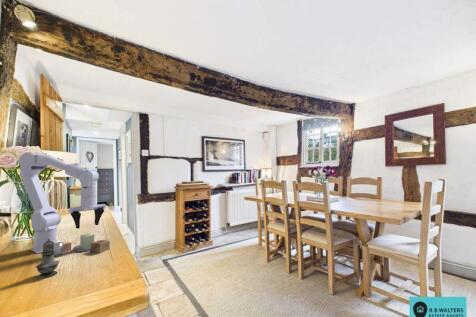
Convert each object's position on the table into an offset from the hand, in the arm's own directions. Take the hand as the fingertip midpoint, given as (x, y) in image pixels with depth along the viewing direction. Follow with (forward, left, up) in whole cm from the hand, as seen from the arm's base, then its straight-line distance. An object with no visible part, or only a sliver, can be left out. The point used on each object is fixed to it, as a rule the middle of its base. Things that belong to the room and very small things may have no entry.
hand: (87, 226), depth 101 cm
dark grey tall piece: (+19, -19, -10) cm, 29 cm away
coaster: (0, 0, -10) cm, 10 cm away
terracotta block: (-5, -8, -10) cm, 14 cm away
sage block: (0, 0, -9) cm, 9 cm away
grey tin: (0, -11, -10) cm, 15 cm away
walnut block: (+9, +2, -10) cm, 13 cm away
